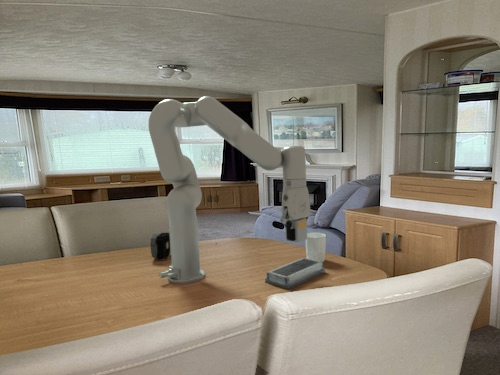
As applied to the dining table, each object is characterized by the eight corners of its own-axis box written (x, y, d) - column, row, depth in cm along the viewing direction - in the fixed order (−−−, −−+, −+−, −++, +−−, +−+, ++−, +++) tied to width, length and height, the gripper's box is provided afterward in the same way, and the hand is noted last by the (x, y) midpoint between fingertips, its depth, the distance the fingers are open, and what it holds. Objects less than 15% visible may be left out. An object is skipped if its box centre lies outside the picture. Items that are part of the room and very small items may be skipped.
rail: (289, 289, 111) (289, 278, 111) (265, 281, 118) (264, 271, 118) (325, 272, 125) (325, 262, 125) (301, 266, 132) (301, 257, 132)
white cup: (325, 257, 142) (324, 232, 141) (327, 263, 134) (327, 237, 133) (304, 257, 143) (304, 232, 142) (305, 263, 135) (305, 237, 134)
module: (298, 242, 117) (297, 221, 116) (286, 240, 120) (285, 219, 120) (307, 239, 120) (306, 218, 119) (295, 237, 124) (294, 217, 123)
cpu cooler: (158, 254, 154) (156, 230, 153) (171, 253, 154) (170, 230, 153) (150, 261, 144) (149, 236, 143) (164, 261, 143) (163, 236, 142)
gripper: (287, 187, 110) (289, 245, 112) (319, 181, 122) (320, 234, 124) (268, 186, 115) (271, 242, 117) (300, 181, 127) (302, 231, 129)
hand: (296, 237), depth 120 cm, fingers closed on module, 5 cm apart
